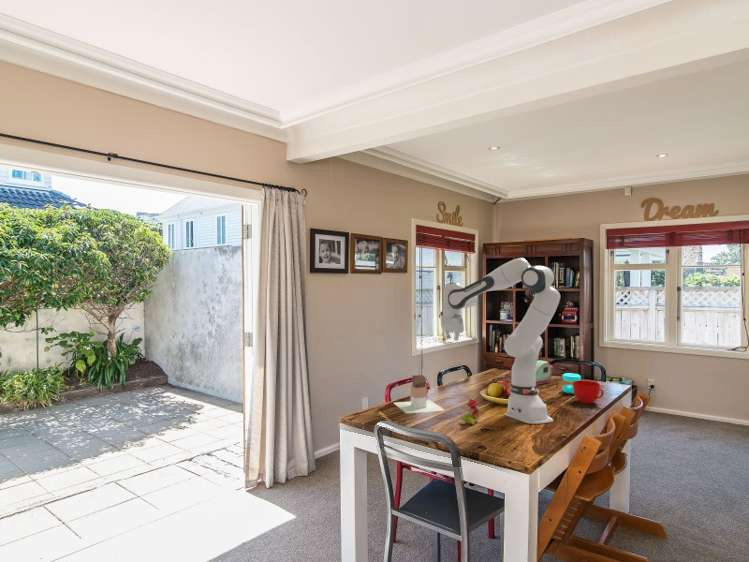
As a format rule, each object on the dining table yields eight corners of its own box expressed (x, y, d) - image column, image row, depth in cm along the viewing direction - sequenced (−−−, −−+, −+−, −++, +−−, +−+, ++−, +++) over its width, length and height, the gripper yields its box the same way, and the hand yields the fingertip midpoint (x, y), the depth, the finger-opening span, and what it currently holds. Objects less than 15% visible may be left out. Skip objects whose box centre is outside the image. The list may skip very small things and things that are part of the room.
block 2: (426, 407, 236) (426, 397, 236) (415, 408, 235) (415, 398, 235) (421, 404, 242) (422, 394, 242) (410, 405, 240) (410, 395, 240)
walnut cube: (425, 387, 236) (425, 377, 236) (415, 387, 235) (415, 377, 235) (421, 384, 241) (421, 375, 241) (412, 385, 240) (412, 375, 240)
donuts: (558, 374, 275) (567, 372, 281) (558, 391, 275) (567, 389, 281) (575, 377, 267) (584, 374, 273) (575, 395, 267) (584, 392, 274)
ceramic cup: (593, 408, 240) (593, 388, 240) (567, 400, 255) (567, 381, 255) (612, 405, 245) (612, 386, 245) (585, 398, 260) (585, 379, 260)
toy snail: (533, 386, 288) (533, 363, 287) (522, 384, 294) (522, 361, 294) (557, 381, 303) (557, 359, 302) (546, 379, 309) (546, 357, 309)
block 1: (426, 397, 236) (426, 387, 236) (415, 398, 235) (415, 388, 234) (422, 394, 242) (422, 384, 242) (410, 395, 240) (410, 385, 240)
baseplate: (445, 412, 231) (445, 410, 231) (406, 415, 226) (406, 413, 226) (429, 402, 251) (429, 400, 251) (393, 405, 245) (393, 402, 245)
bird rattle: (469, 424, 219) (458, 420, 214) (475, 401, 222) (464, 396, 217) (480, 428, 215) (469, 423, 209) (487, 404, 217) (476, 399, 212)
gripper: (466, 314, 244) (466, 341, 244) (449, 312, 264) (449, 337, 264) (455, 314, 243) (455, 342, 243) (438, 312, 262) (438, 337, 262)
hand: (452, 339), depth 254 cm, fingers open, 8 cm apart
